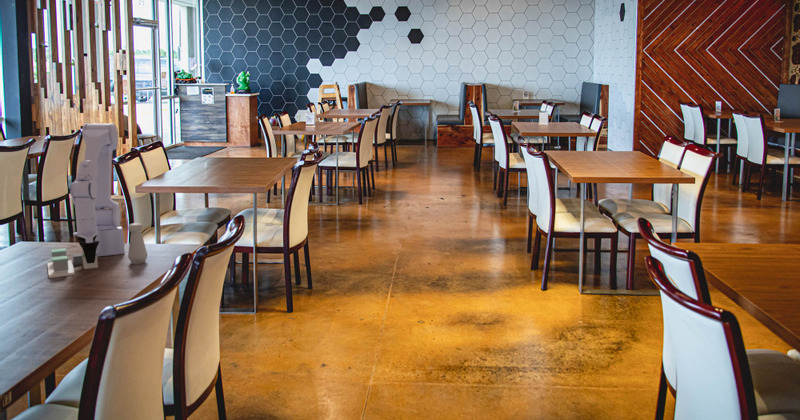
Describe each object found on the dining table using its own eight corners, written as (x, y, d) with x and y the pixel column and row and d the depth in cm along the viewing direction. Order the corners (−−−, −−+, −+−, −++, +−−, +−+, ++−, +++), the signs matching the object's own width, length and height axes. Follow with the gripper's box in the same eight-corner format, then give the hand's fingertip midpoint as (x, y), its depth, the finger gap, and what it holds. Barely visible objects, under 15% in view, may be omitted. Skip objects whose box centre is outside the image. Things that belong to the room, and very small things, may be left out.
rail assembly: (71, 262, 218) (70, 247, 217) (74, 274, 205) (73, 258, 204) (47, 265, 215) (46, 249, 214) (48, 277, 202) (47, 261, 201)
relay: (93, 260, 222) (92, 251, 221) (94, 263, 218) (93, 254, 218) (73, 262, 219) (72, 253, 218) (73, 265, 215) (73, 256, 215)
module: (96, 264, 217) (95, 249, 216) (98, 267, 213) (96, 252, 212) (83, 265, 215) (81, 250, 214) (84, 269, 211) (82, 253, 210)
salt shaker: (150, 260, 221) (148, 222, 218) (142, 265, 215) (139, 226, 213) (133, 260, 221) (131, 221, 219) (125, 264, 216) (122, 225, 213)
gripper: (70, 215, 215) (74, 256, 218) (73, 224, 203) (77, 267, 205) (94, 213, 218) (98, 253, 221) (98, 221, 206) (102, 264, 209)
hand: (89, 260), depth 213 cm, fingers open, 7 cm apart
